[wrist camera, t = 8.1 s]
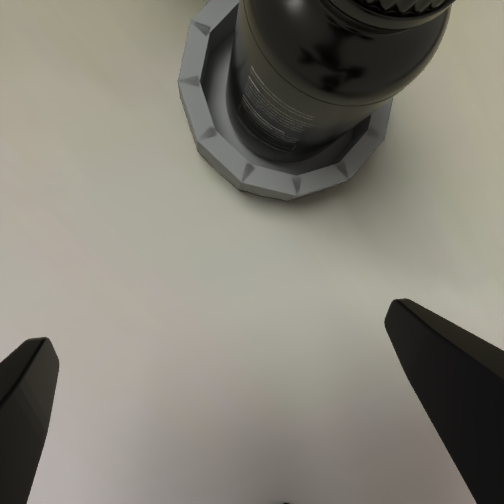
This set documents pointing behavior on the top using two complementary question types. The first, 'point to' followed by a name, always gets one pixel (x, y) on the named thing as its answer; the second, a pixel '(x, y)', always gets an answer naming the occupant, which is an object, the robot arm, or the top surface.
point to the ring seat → (225, 138)
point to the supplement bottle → (323, 67)
